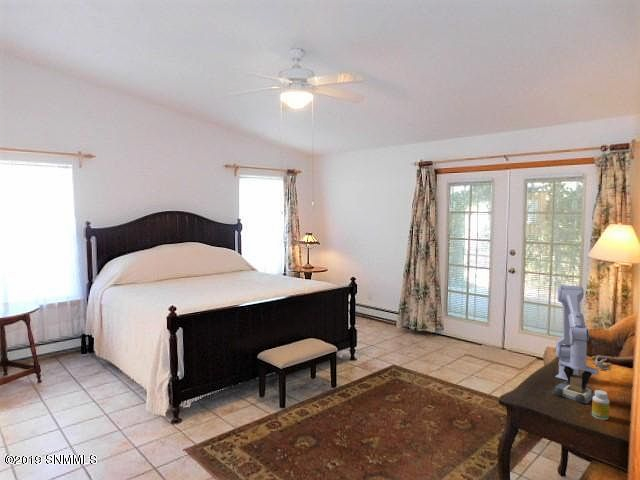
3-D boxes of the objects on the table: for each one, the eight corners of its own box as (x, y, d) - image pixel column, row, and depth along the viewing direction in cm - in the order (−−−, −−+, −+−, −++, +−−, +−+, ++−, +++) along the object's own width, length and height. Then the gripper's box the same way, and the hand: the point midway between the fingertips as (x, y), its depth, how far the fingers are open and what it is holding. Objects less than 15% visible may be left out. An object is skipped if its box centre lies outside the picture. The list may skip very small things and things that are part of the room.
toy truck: (561, 386, 188) (561, 379, 188) (595, 396, 178) (595, 388, 178) (551, 394, 180) (551, 387, 180) (585, 404, 171) (585, 397, 170)
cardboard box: (573, 387, 181) (573, 374, 181) (584, 390, 178) (585, 377, 178) (569, 390, 178) (570, 376, 178) (581, 393, 175) (581, 379, 175)
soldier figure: (615, 369, 211) (609, 367, 203) (606, 373, 213) (600, 372, 205) (604, 355, 216) (597, 353, 208) (595, 360, 218) (588, 358, 210)
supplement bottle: (602, 421, 157) (603, 396, 156) (588, 415, 162) (589, 390, 161) (611, 418, 159) (612, 393, 159) (597, 412, 164) (598, 388, 164)
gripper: (556, 353, 180) (555, 384, 181) (595, 362, 169) (593, 394, 170) (562, 349, 184) (561, 379, 185) (600, 358, 174) (599, 389, 174)
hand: (577, 386), depth 178 cm, fingers closed on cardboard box, 4 cm apart
